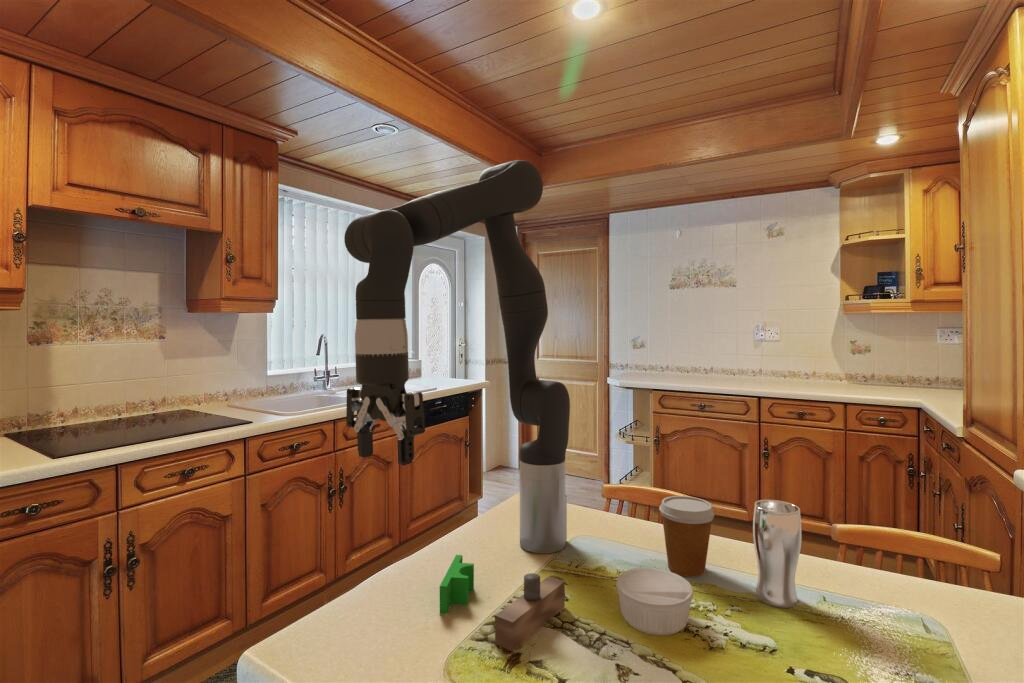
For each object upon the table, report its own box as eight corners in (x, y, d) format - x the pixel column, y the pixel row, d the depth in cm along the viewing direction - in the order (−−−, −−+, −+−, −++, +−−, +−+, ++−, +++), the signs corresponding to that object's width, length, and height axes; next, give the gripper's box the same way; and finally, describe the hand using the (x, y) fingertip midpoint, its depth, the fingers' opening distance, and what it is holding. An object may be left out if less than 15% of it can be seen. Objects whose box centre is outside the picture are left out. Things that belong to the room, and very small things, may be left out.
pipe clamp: (463, 617, 79) (463, 587, 79) (439, 615, 79) (439, 586, 79) (477, 581, 90) (477, 555, 90) (456, 580, 90) (456, 554, 90)
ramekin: (651, 649, 70) (651, 611, 70) (600, 610, 80) (601, 576, 80) (710, 627, 76) (710, 591, 76) (655, 593, 86) (655, 561, 85)
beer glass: (799, 593, 85) (799, 502, 85) (802, 614, 79) (803, 516, 79) (752, 584, 88) (753, 496, 88) (752, 604, 82) (753, 509, 82)
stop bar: (548, 600, 83) (548, 557, 83) (564, 606, 81) (564, 562, 81) (495, 644, 72) (495, 593, 71) (512, 651, 70) (512, 600, 70)
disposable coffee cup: (709, 586, 88) (710, 516, 87) (653, 573, 92) (653, 506, 92) (718, 564, 96) (718, 500, 96) (665, 553, 101) (666, 492, 100)
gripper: (435, 349, 75) (438, 461, 76) (369, 348, 83) (372, 448, 84) (396, 353, 69) (399, 474, 69) (329, 351, 77) (333, 459, 78)
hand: (385, 460), depth 77 cm, fingers open, 8 cm apart
